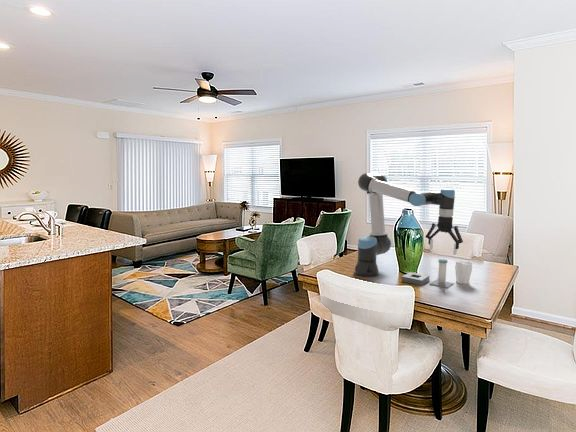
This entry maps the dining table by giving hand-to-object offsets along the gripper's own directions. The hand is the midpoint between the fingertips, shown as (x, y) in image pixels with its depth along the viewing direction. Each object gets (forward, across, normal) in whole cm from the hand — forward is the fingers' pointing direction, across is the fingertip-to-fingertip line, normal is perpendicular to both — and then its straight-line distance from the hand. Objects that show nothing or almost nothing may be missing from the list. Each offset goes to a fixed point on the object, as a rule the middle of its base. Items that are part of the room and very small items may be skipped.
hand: (442, 252), depth 210 cm
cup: (+19, +9, +12) cm, 24 cm away
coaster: (+19, +1, 0) cm, 19 cm away
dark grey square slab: (+20, -13, -4) cm, 24 cm away
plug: (+18, +1, 0) cm, 19 cm away
